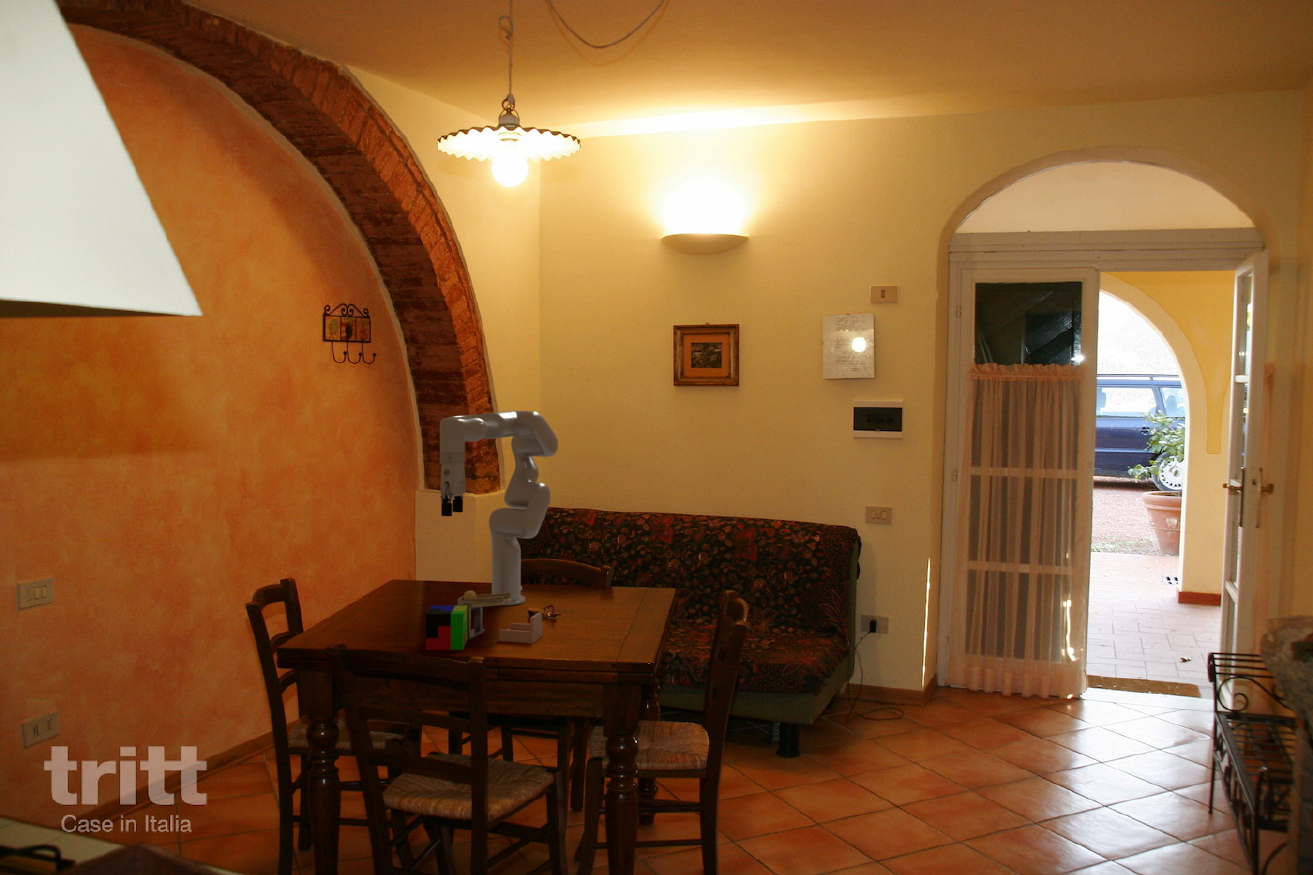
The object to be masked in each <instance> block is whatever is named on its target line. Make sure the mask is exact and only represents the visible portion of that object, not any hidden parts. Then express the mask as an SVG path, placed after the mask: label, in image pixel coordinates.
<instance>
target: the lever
mask: <svg viewBox="0 0 1313 875" xmlns="http://www.w3.org/2000/svg"><path fill="white" fill-rule="evenodd" d="M510 601H511V593H510V592H508V593H496V594H492V593H485V594H484V593H483V594H476V598H475V599H464V595H463V596H461V597H459V598H458V599H457V604H456V605H453V606H463V604H464V603H469V604H471V611H473V610H474V609H475V608H476V607H482V608H483V607H493V606H494V607H495V606H505V605H504V604H506V603H508V602H510Z"/></svg>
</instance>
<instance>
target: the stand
mask: <svg viewBox="0 0 1313 875" xmlns="http://www.w3.org/2000/svg"><path fill="white" fill-rule="evenodd" d="M463 606H467V640H472V639H474V638H475V637H477V636H479V635H481V634H483V633H484V632H486V631H485V630H486V629H485V628H483V607H476V608H475V609H473V610H474V611H473V612H474V615H473V617H474V622H473V627H474V628H473V629H472V627H471V626H472V622H471V621H472V620H471V619H472V612H471V611H472V610H471V604H469V603H464V604H463Z"/></svg>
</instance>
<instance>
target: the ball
mask: <svg viewBox="0 0 1313 875" xmlns="http://www.w3.org/2000/svg"><path fill="white" fill-rule="evenodd" d="M476 595H477V593H476V592H475V591H473V590H468V591H465V592H464V594H463V596H464V599H475V598H476Z"/></svg>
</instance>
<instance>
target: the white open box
mask: <svg viewBox="0 0 1313 875" xmlns="http://www.w3.org/2000/svg"><path fill="white" fill-rule="evenodd" d="M543 628H544V625H543V612H537V613H536V614H534V615H533V616H531V617H530V619H529V623H518V622H510V623H509V627H508V628H507V629H503V628H502V629H499V642H505V643H506V642H507V643H520V644H522V643H523V644H532V645H533V644H534V643H535V642H536V641H538V640H540V639H541V638H542V637H543V636H544V634H543V632H544V629H543ZM540 637H541V638H540Z"/></svg>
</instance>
